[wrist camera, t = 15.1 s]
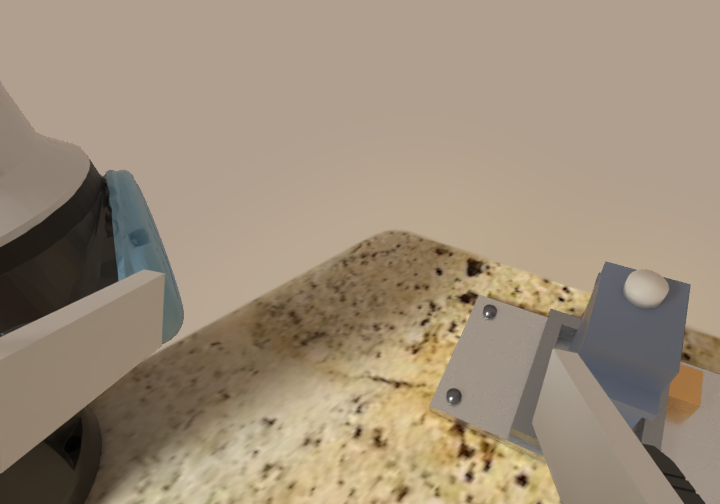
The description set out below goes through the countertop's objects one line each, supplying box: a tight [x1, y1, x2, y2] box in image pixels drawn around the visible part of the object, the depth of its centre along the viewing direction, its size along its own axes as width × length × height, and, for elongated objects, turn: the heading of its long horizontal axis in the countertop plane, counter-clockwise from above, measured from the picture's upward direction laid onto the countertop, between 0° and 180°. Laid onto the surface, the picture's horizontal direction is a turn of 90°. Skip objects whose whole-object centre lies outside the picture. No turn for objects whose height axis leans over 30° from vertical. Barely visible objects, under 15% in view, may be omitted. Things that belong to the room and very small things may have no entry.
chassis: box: [430, 295, 720, 504], centre depth 37 cm, size 22×12×3 cm, turn 61°
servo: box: [568, 262, 690, 430], centre depth 32 cm, size 5×9×13 cm, turn 152°
